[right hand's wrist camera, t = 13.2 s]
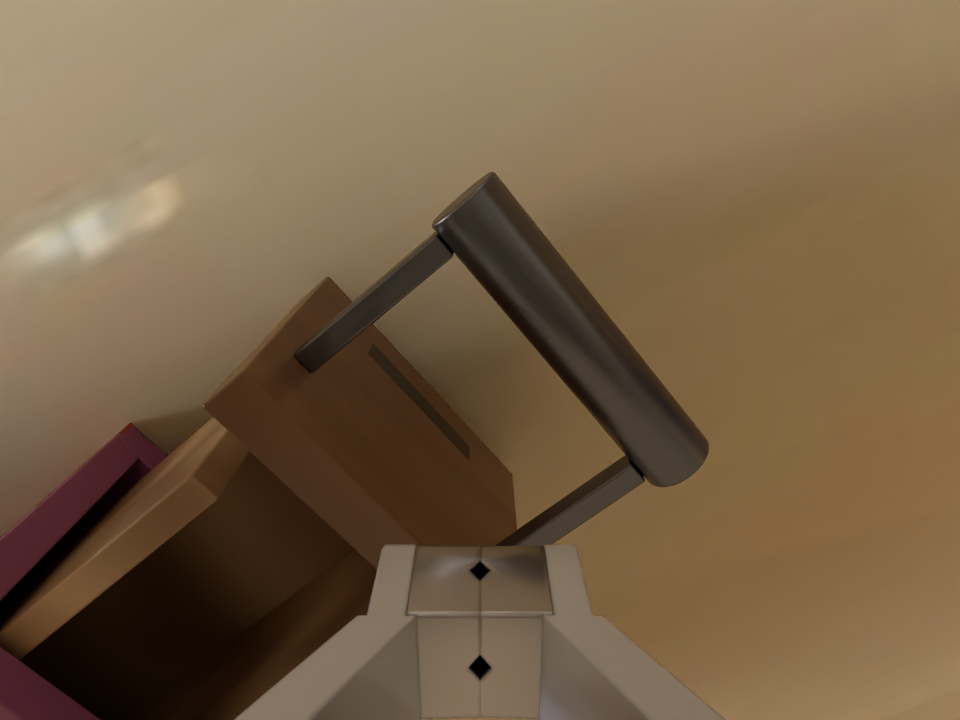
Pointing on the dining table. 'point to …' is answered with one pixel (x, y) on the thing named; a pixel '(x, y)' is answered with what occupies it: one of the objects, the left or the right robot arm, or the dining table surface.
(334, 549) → the drawer
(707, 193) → the dining table surface
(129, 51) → the dining table surface
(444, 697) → the right robot arm
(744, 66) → the dining table surface
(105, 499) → the cabinet
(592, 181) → the dining table surface
